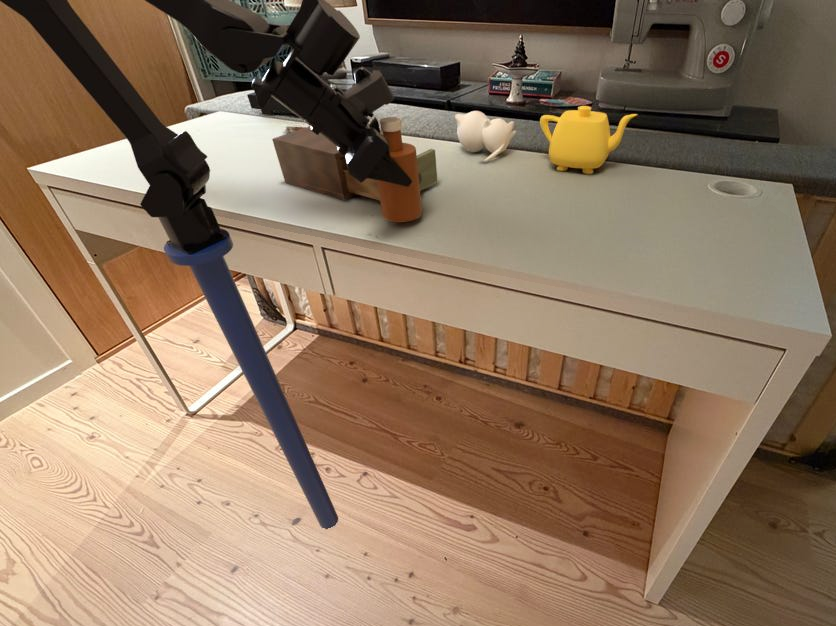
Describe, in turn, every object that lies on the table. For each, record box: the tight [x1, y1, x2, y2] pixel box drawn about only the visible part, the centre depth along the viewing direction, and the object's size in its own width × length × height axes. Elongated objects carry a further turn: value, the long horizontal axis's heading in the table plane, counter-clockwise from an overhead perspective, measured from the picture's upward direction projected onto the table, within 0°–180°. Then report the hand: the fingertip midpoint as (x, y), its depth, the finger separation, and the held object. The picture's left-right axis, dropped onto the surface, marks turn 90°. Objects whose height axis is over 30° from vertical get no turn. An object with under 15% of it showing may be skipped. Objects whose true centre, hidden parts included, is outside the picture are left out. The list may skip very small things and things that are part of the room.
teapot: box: [539, 105, 638, 175], centre depth 89 cm, size 18×11×11 cm, turn 71°
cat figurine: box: [454, 110, 517, 164], centre depth 96 cm, size 9×11×12 cm
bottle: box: [377, 116, 423, 223], centre depth 70 cm, size 6×6×14 cm
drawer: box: [340, 148, 438, 201], centre depth 82 cm, size 18×14×6 cm
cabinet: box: [271, 125, 384, 201], centre depth 86 cm, size 16×14×8 cm
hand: (406, 175), depth 71 cm, fingers closed on bottle, 6 cm apart
